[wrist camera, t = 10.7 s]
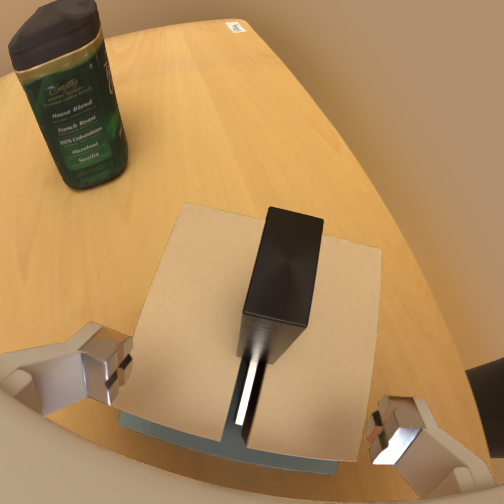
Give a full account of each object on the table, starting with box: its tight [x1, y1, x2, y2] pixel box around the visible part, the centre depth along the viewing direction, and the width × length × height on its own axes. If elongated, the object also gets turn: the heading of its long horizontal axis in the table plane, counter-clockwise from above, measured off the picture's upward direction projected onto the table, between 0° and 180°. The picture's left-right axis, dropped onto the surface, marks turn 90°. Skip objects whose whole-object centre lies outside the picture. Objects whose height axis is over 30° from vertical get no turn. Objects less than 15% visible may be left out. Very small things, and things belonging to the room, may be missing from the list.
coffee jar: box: [8, 0, 128, 189], centre depth 23 cm, size 10×8×19 cm
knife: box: [233, 207, 324, 426], centre depth 15 cm, size 10×2×13 cm, turn 167°
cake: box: [112, 202, 382, 475], centre depth 19 cm, size 16×16×9 cm
